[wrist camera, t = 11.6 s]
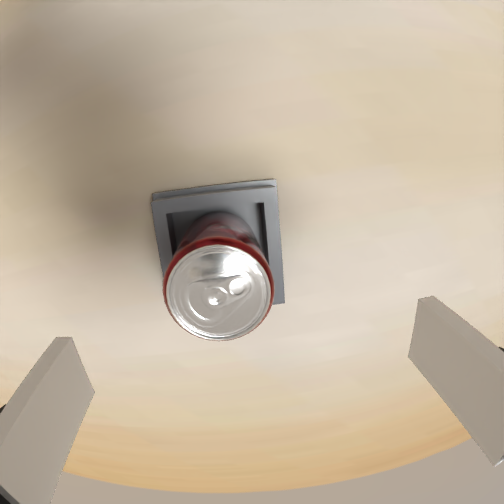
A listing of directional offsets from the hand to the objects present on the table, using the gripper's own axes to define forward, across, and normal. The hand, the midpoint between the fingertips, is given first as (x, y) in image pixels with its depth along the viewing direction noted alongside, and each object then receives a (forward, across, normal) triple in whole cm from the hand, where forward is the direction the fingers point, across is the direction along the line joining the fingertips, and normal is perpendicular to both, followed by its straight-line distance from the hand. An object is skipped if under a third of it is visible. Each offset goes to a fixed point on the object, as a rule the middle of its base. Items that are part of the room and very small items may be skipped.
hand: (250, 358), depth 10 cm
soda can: (+21, -2, -2) cm, 21 cm away
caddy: (+22, -1, -2) cm, 22 cm away
